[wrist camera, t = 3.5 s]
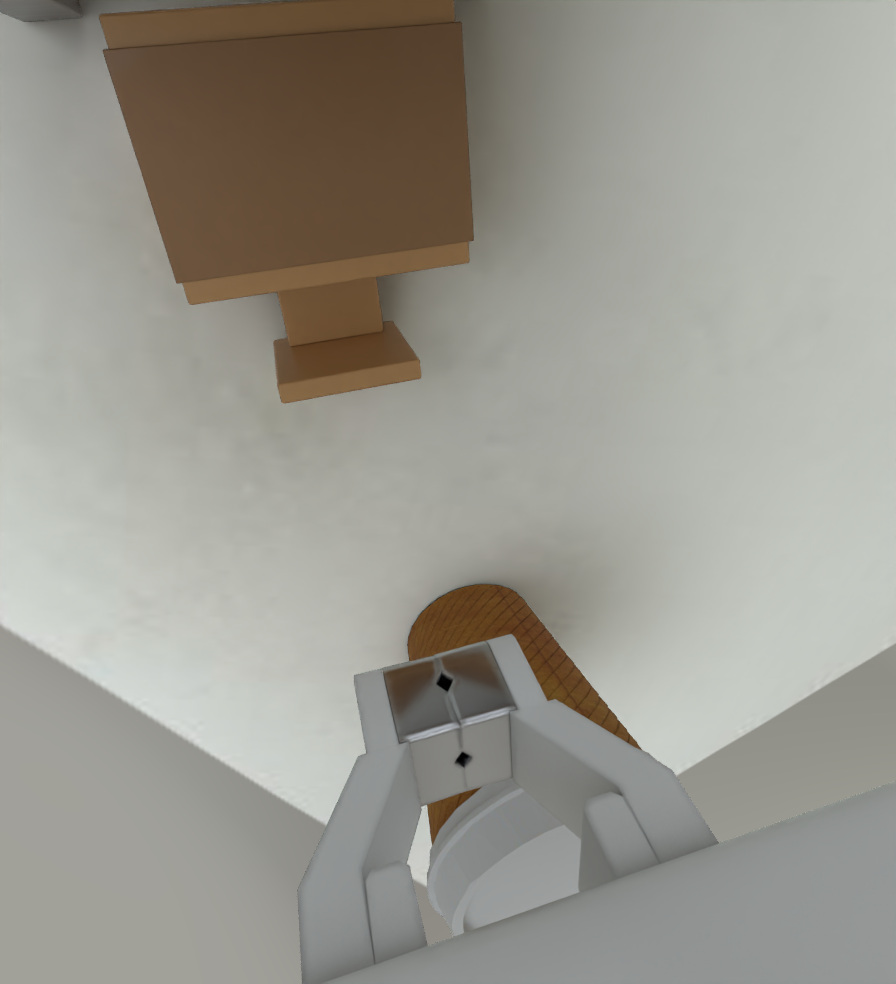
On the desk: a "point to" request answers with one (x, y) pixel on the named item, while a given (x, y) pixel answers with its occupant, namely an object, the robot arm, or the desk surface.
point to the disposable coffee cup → (503, 805)
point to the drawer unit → (41, 9)
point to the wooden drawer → (303, 164)
